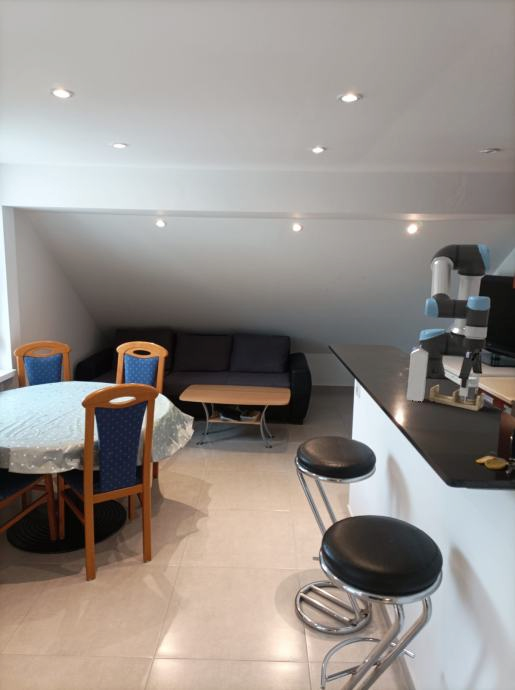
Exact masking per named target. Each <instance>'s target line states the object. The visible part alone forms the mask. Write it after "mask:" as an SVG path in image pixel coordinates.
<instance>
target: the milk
mask: <svg viewBox="0 0 515 690" xmlns="http://www.w3.org/2000/svg"><path fill="white" fill-rule="evenodd" d="M427 362H428V352H426V351H425V350H423V349H422V348H421V345H420V346H419V345H418V348H417V349H415V350H414V351H412V352H411V353H410V360H409V369H408V380H407V381H408V382H407V391H406V401H412V400H413V402H418V401H421V402H420V403H423V402H422V401H424V399H425V391H426V381H427V378H426V372H427Z"/></svg>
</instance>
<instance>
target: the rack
mask: <svg viewBox="0 0 515 690" xmlns="http://www.w3.org/2000/svg"><path fill="white" fill-rule="evenodd" d="M439 392H440V384H436V385H433V386H432V387H430V390H429V399H428V401H429V400H430V401H429V402H433V401H435V403H439V404H443V405H448V406H452V407H457V408H463V409H466V410H467V409H468V410H471V411H479V410H480V409H482V408H483V407H484V402H485V393H484V392H483V393H480V394H479V395H477V397H476V403H475V404H464V403H462V402H460V395H459V393H460V388H459V389H457V390H455V391H453V392H452V396H448V395H443V394H439Z"/></svg>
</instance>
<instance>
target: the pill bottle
mask: <svg viewBox="0 0 515 690" xmlns="http://www.w3.org/2000/svg"><path fill="white" fill-rule="evenodd" d="M476 382H477V378H475V377H471V376H469V387H468V396H467V397H466V396H460V402H462V403H464V404H475V403H476V399H477V396H478V395H477V394H478V390H477V387H478V388H479V385H478V386H477V384H476Z"/></svg>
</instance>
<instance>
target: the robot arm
mask: <svg viewBox="0 0 515 690" xmlns="http://www.w3.org/2000/svg"><path fill="white" fill-rule="evenodd" d="M430 270H431V272H432V274H431V289H430V290H431V292H430V293H431V294H430V298H426V300H425V309H424V315H425V316H426V317H428V318H429V317H430V318H431V317H432V318H438V319H440V318H441V319H455V320H454V326H452V327H451V329H450V332H447V331H446V329H444V328H430V329H424V330H423V329H422V330H421V332H420V334H419V338H418V340H419V342H418V343H419V345H418V347H419V346H420V345H421V348H422V349H423V350H425V351H426V352H428V362H427V372H426V377H435V378H434V379H443V378H445V377H446V371H445V366H444V361H443V358H444V356H445V357H452V358H453V357H455V358H463V360H462V363H461V367H460V372H459V375H458V379H460V386H459V389H460V393H459V395H460V396H466V397H467V396H468V387H469V377H475V378H477V382H476V384H477V386H478V387H477V391H478V390H479V384H480V383H479V382H480V375H482V374H483V371H482V370H483V364H482V363H483V361H482V358H483V357H482V351H483V350H484V349H485V348H486V343H487V342H486V341H487V340H486V338H487V336H488V335H487V333H488V323H489V315H490V309H491V298H490V297H489V296H480V295H479V294H480V288H481V287H480V286H481V280H482V278H483V277H485V276H486V272H489V271H490V270H491V251H490V247H489V246H488V245H486V244H478V243H473V244H470V243H469V244H462V243H461V244H459V243H458V244H455V243H454V244H449V245H445V246H444V247H441V248H440V249H439V250H438V251H437V252H435V254H434V255H433V257H432V258H431V260H430ZM451 271H457V273H456V274H457V275H458V277H459V279H460V280H459V288H458V294H457V295H458V297H457V299H452V298H451V293H452V291H451V288H452V287H451V286H452V285H451V283H452V282H451V280H452V278H451V277H452V274H451V273H452V272H451ZM470 374H471V376H470ZM441 377H442V378H441Z"/></svg>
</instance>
